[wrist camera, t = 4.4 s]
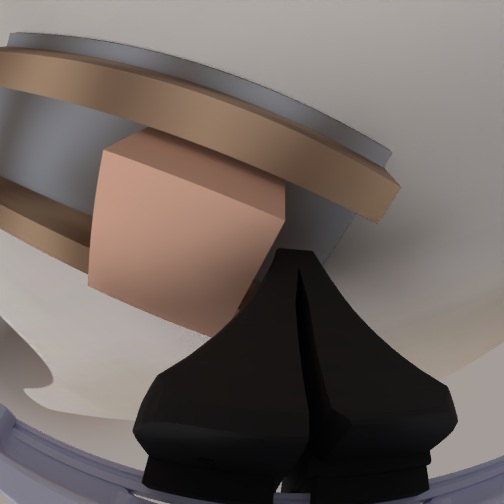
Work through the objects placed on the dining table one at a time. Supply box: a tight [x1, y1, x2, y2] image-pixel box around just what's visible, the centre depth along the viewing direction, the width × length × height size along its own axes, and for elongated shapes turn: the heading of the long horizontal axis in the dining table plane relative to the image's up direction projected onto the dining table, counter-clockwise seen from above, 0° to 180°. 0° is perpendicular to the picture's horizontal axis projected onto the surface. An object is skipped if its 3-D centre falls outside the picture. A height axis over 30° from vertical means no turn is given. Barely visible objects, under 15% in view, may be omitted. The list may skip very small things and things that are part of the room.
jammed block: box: [88, 127, 285, 337], centre depth 10 cm, size 5×5×4 cm
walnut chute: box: [0, 33, 401, 320], centre depth 11 cm, size 18×10×2 cm, turn 68°
